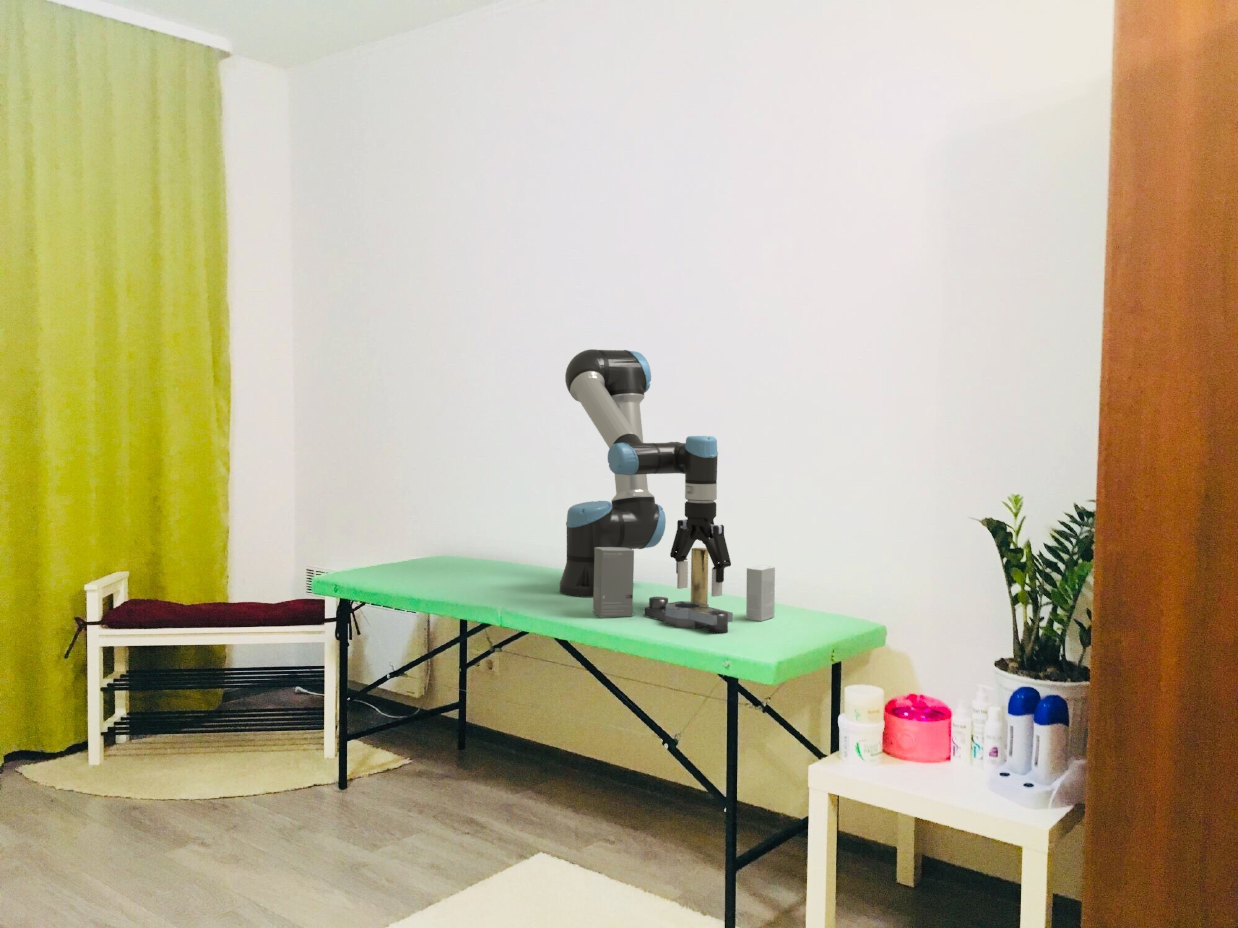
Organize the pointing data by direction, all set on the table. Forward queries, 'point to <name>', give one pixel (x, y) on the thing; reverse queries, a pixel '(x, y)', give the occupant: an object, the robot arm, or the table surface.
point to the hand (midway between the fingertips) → (699, 591)
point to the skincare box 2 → (760, 593)
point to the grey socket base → (688, 614)
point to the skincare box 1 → (613, 581)
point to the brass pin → (699, 575)
